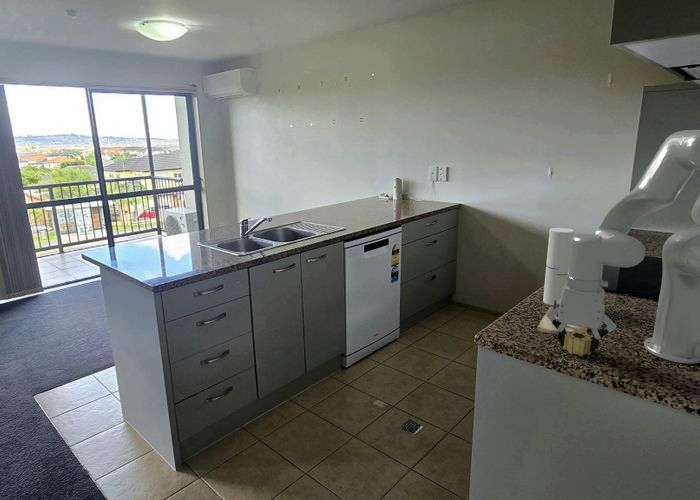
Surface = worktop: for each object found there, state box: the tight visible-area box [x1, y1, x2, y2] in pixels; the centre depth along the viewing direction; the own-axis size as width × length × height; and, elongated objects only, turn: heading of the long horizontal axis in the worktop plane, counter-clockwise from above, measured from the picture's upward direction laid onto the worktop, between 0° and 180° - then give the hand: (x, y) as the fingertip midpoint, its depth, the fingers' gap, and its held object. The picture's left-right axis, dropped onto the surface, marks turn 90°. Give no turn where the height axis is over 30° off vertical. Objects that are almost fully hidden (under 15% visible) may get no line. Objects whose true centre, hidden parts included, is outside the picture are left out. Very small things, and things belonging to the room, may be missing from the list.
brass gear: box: [562, 330, 594, 357], centre depth 111 cm, size 7×7×4 cm
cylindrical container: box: [542, 227, 575, 307], centre depth 141 cm, size 7×7×25 cm
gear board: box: [536, 298, 589, 336], centre depth 127 cm, size 12×18×7 cm, turn 145°
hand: (577, 347), depth 112 cm, fingers closed on brass gear, 6 cm apart
